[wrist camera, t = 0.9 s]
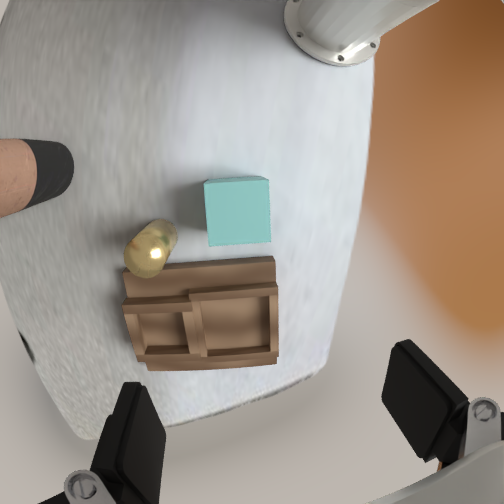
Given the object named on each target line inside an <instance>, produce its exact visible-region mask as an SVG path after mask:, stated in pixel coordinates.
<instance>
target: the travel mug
mask: <svg viewBox="0 0 504 504" xmlns="http://www.w3.org/2000/svg"><path fill="white" fill-rule="evenodd" d="M73 173H74V162H73V158H72V155H71V153H70V151H69V150H68V148H67V147H66V146H64V145H63V144H61V143H58V142H52V141H41V140H29V139H0V218H2V217H4V216H7V215H10V214H13V213H16V212H18V211H21V210H23V209H26V208H28V207H31V206H33V205H36V204H38V203H41V202H44V201H46V200H49V199H52V198H54V197H57V196H59V195H60V194H62V193H63V192H64V191H65V190H66V189H67V188H68V186H69V185H70V183H71V180H72V177H73Z"/></svg>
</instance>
